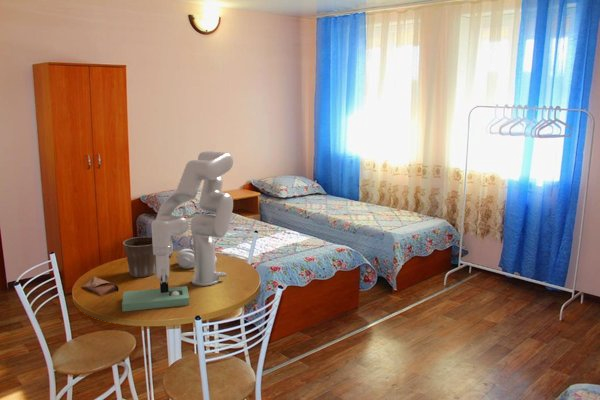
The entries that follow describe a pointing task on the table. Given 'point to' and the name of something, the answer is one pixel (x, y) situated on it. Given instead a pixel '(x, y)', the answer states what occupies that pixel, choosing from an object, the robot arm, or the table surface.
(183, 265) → the headphones
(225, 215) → the robot arm
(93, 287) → the sunglasses case
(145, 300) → the green board
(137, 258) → the plant pot
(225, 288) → the table surface
